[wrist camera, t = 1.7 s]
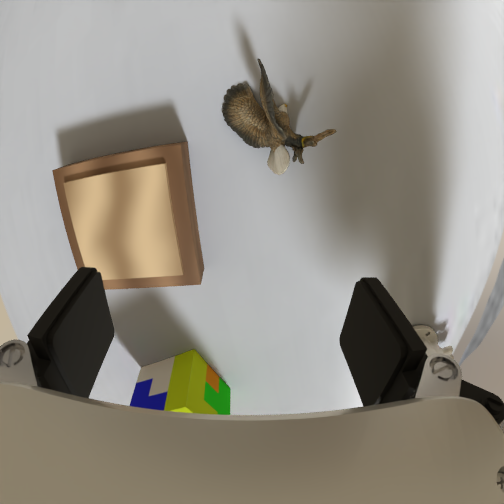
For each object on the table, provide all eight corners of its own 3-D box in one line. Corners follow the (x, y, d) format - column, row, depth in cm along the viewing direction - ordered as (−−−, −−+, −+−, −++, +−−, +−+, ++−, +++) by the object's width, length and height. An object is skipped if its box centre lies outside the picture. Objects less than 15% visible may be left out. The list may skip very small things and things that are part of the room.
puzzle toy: (141, 367, 40) (125, 419, 31) (194, 348, 38) (185, 406, 29) (179, 402, 44) (172, 451, 35) (230, 388, 42) (229, 441, 33)
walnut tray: (187, 141, 27) (179, 144, 23) (204, 268, 33) (200, 287, 29) (69, 164, 27) (49, 171, 23) (96, 275, 33) (83, 292, 29)
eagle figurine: (336, 110, 25) (267, 46, 21) (338, 152, 21) (250, 73, 17) (281, 148, 30) (216, 96, 26) (272, 193, 27) (192, 134, 23)
